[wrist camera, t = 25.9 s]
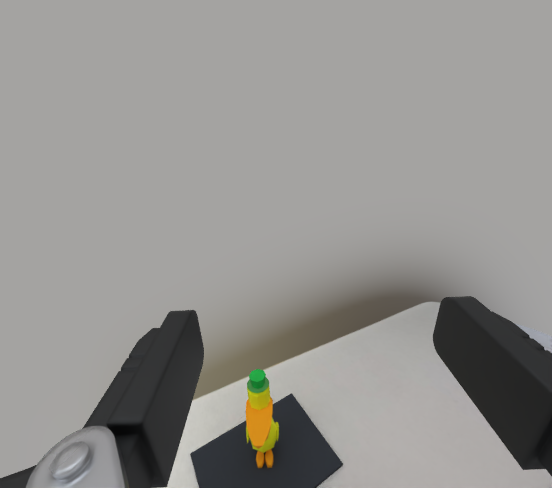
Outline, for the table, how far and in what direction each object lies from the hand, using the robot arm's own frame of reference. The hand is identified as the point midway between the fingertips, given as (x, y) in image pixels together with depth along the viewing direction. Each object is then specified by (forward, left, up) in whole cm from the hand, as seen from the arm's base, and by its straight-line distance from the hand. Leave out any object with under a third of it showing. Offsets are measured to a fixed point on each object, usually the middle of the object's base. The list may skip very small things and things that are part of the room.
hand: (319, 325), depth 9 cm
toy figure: (+2, +11, -28) cm, 30 cm away
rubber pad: (+2, +11, -28) cm, 30 cm away
